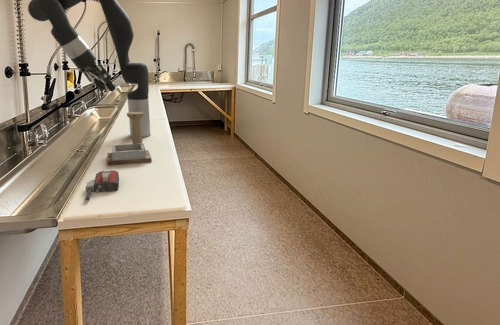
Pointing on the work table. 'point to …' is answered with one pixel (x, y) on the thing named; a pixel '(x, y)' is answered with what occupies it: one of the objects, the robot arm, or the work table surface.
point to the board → (132, 161)
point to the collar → (128, 151)
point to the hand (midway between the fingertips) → (108, 90)
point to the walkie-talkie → (103, 183)
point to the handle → (136, 126)
